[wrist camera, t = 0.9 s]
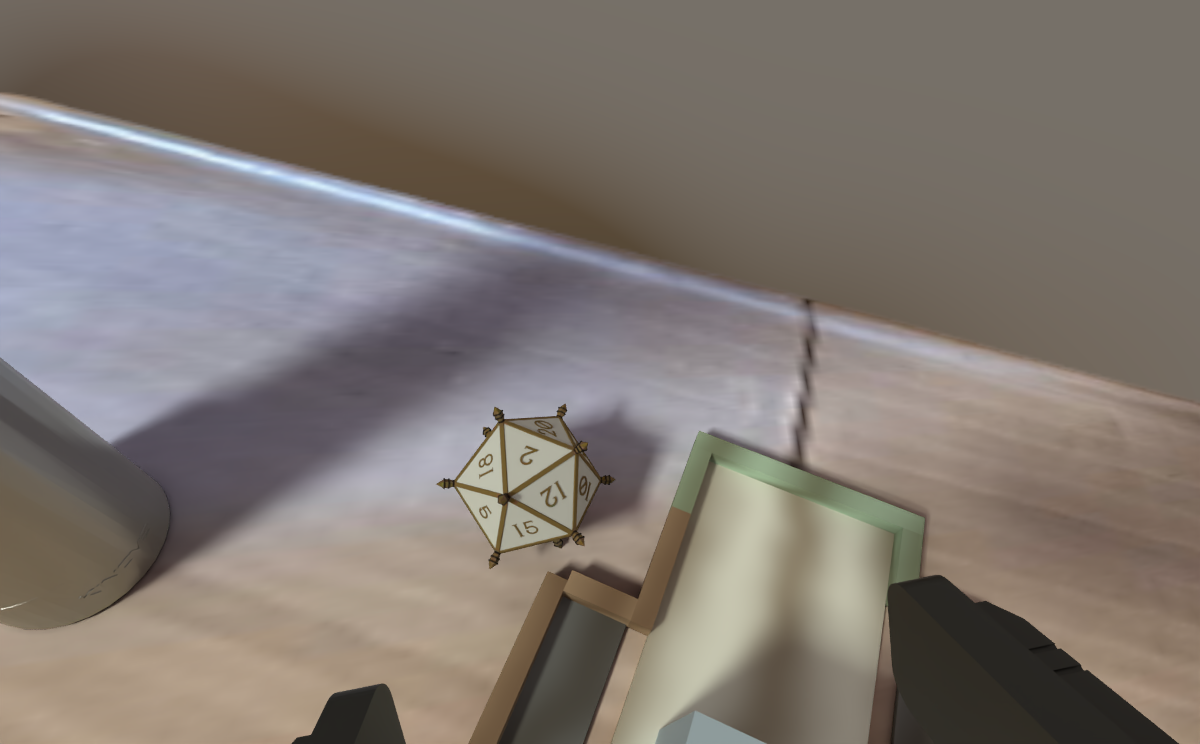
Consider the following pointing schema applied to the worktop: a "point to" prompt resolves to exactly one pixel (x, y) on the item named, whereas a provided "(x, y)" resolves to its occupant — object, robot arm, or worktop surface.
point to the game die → (528, 483)
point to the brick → (702, 732)
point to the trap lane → (725, 616)
